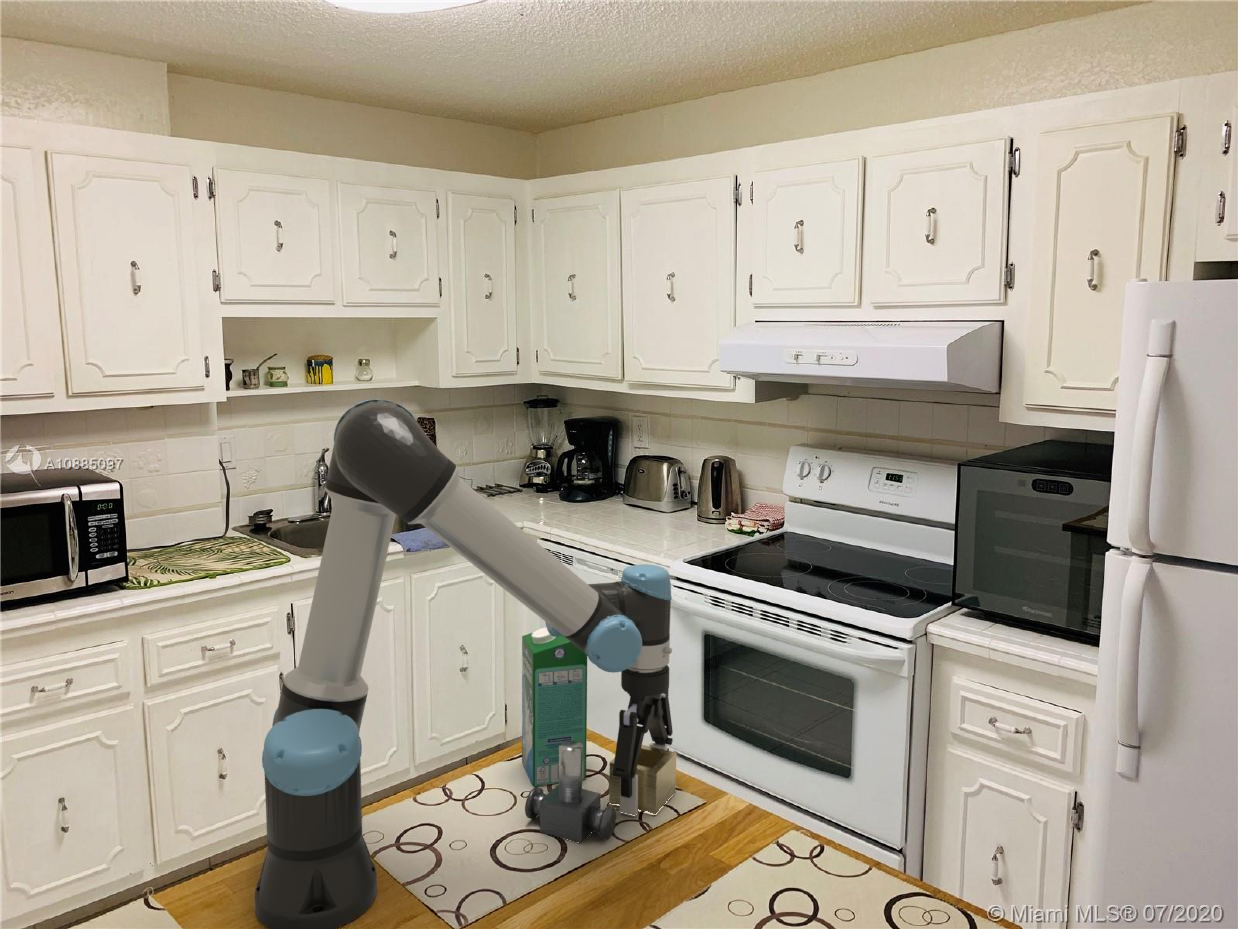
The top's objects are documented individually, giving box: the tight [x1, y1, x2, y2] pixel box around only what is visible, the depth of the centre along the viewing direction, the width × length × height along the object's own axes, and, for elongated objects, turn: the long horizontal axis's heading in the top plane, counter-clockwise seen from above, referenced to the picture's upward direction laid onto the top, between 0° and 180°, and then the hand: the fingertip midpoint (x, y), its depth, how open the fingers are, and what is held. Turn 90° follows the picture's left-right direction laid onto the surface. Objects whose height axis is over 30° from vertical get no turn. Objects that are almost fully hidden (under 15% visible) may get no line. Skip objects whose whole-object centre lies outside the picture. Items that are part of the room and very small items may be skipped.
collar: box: [608, 744, 677, 814], centre depth 146 cm, size 8×8×7 cm
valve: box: [524, 741, 617, 844], centre depth 136 cm, size 13×6×13 cm, turn 64°
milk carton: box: [521, 626, 588, 788], centre depth 153 cm, size 9×9×25 cm
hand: (643, 797), depth 146 cm, fingers open, 10 cm apart
